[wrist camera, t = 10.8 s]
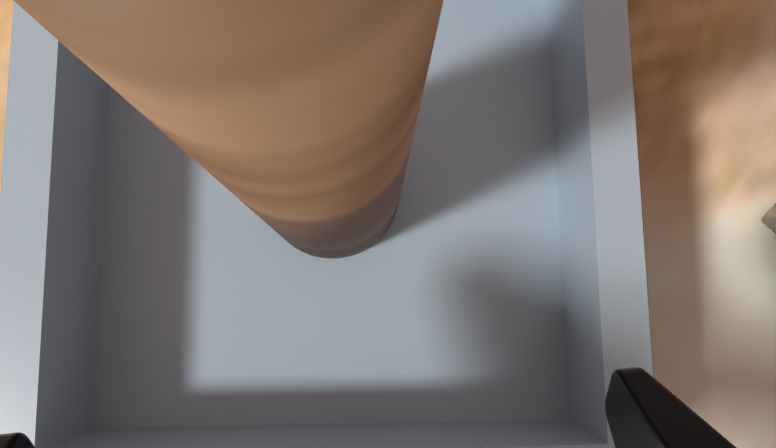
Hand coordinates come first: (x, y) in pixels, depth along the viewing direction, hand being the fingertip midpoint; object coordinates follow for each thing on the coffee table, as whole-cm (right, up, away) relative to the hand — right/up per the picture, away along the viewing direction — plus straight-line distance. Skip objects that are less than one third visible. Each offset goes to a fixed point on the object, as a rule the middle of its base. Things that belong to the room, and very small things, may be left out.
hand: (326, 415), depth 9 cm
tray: (-1, +4, +10) cm, 11 cm away
